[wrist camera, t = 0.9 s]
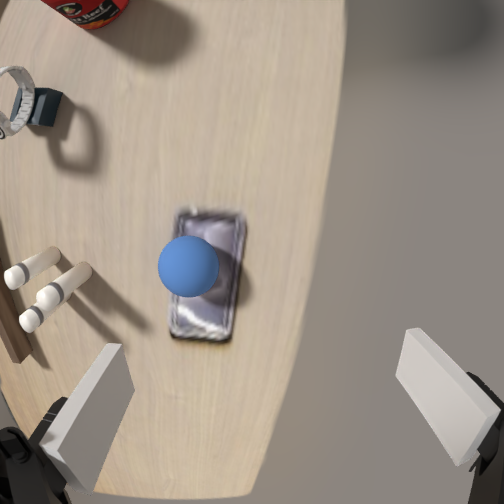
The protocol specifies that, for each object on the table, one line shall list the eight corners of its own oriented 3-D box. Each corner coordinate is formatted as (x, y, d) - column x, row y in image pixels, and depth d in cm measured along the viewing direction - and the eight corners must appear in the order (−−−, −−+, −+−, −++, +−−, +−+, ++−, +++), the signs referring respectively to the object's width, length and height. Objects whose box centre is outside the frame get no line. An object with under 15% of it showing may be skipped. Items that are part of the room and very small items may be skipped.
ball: (217, 226, 31) (210, 240, 25) (225, 280, 32) (221, 304, 27) (161, 233, 31) (144, 249, 25) (172, 286, 32) (158, 310, 27)
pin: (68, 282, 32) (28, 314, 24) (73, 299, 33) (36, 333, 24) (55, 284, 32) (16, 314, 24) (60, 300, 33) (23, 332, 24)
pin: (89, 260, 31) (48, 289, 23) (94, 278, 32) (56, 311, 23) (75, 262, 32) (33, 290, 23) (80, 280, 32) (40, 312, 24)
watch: (20, 137, 27) (-39, 137, 16) (37, 78, 25) (-19, 62, 14) (49, 142, 27) (-13, 141, 17) (67, 78, 25) (10, 57, 15)
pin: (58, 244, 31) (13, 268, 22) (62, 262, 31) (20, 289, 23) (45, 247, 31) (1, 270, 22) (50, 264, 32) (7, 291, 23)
